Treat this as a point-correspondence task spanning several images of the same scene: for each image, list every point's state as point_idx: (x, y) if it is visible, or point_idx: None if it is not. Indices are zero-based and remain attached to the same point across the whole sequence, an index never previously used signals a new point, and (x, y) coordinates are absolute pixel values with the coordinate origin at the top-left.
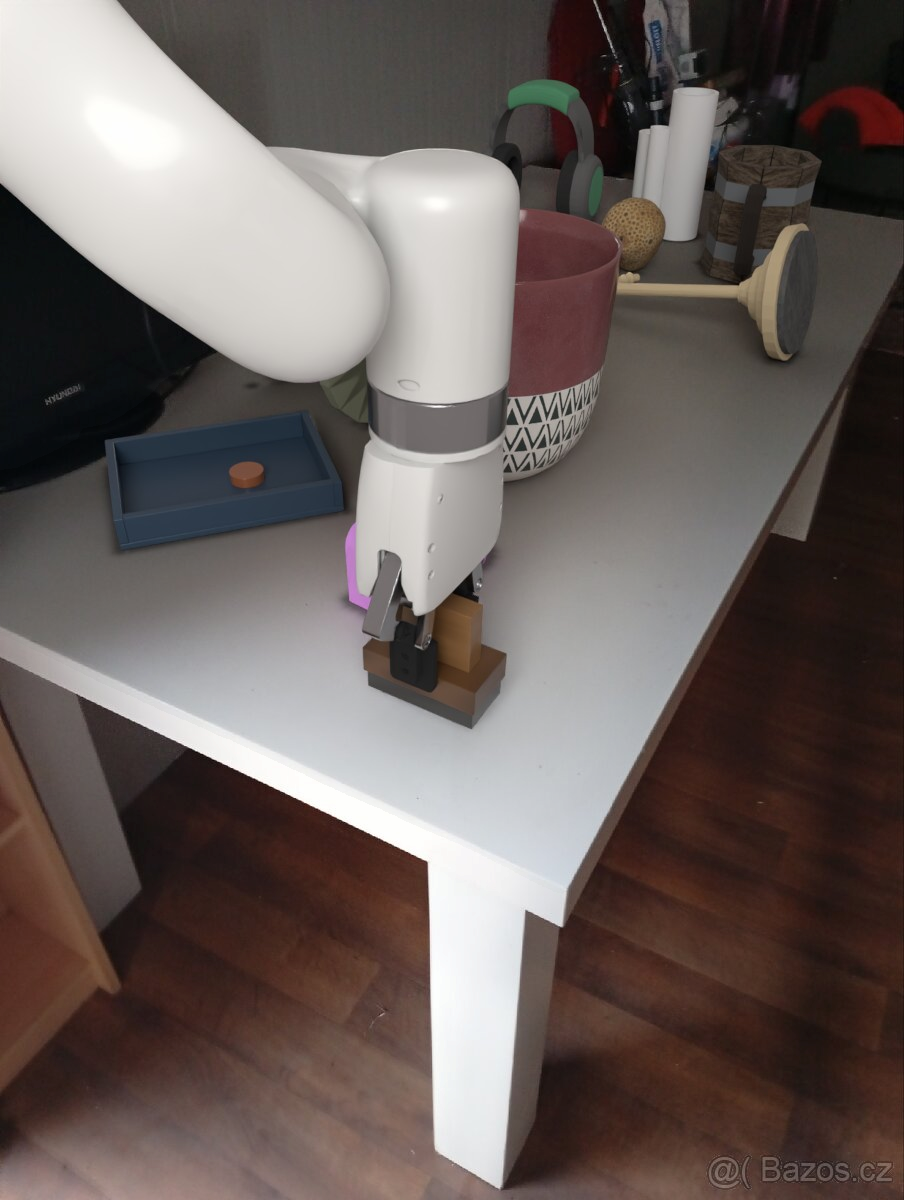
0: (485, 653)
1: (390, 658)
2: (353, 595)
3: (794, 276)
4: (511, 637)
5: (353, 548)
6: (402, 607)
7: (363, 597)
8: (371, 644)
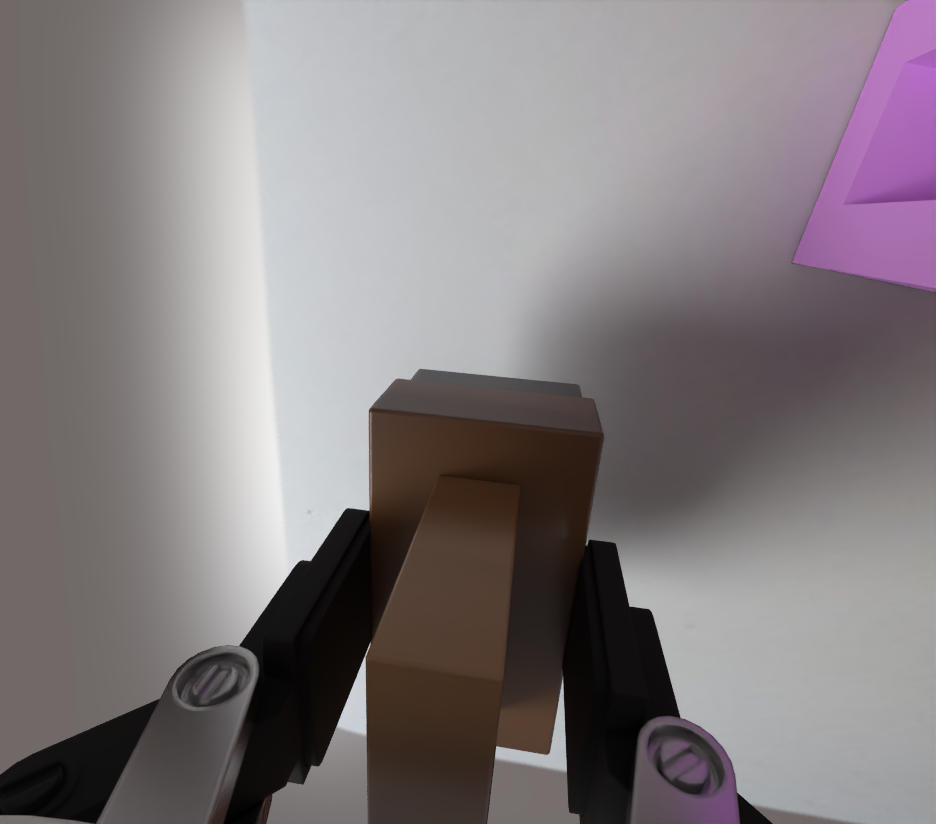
0: (523, 715)
1: (324, 544)
2: (908, 20)
3: None
4: (832, 530)
5: None
6: (231, 787)
7: (892, 75)
8: (398, 428)
